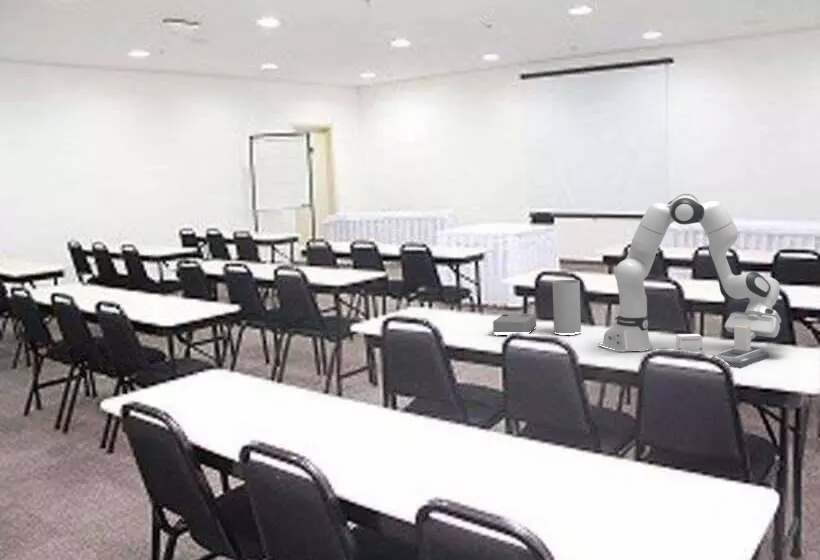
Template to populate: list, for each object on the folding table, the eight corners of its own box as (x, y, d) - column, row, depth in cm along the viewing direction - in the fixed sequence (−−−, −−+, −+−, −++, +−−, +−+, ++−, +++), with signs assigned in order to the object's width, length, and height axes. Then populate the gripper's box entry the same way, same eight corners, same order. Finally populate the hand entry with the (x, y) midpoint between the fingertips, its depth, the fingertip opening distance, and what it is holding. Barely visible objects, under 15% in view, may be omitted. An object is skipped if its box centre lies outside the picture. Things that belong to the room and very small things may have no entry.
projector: (537, 328, 369) (536, 313, 368) (526, 338, 349) (526, 321, 348) (504, 328, 375) (504, 312, 374) (492, 337, 355) (491, 321, 354)
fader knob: (732, 352, 290) (732, 325, 289) (737, 350, 292) (737, 323, 291) (747, 355, 285) (747, 327, 284) (752, 353, 288) (752, 325, 286)
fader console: (707, 362, 286) (707, 354, 285) (737, 352, 299) (737, 344, 299) (740, 368, 276) (740, 359, 275) (769, 357, 289) (769, 348, 289)
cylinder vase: (559, 330, 361) (557, 279, 358) (584, 331, 355) (582, 280, 352) (550, 335, 350) (548, 283, 347) (576, 336, 344) (575, 283, 341)
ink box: (699, 363, 286) (699, 333, 285) (702, 366, 281) (702, 335, 280) (676, 363, 287) (675, 333, 286) (679, 366, 282) (679, 336, 281)
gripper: (729, 306, 301) (716, 334, 296) (780, 311, 285) (767, 340, 280) (735, 315, 304) (722, 343, 299) (785, 321, 288) (773, 350, 283)
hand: (744, 342), depth 290 cm, fingers closed, pressing on fader knob
